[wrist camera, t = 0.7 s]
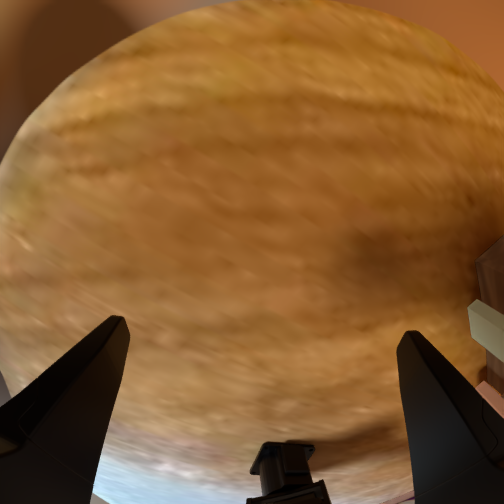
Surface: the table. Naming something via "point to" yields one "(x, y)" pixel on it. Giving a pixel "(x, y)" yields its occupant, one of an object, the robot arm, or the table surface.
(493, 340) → the sage button
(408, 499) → the greeting card
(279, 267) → the table surface
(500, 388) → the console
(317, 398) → the table surface
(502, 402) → the pink block with rod
